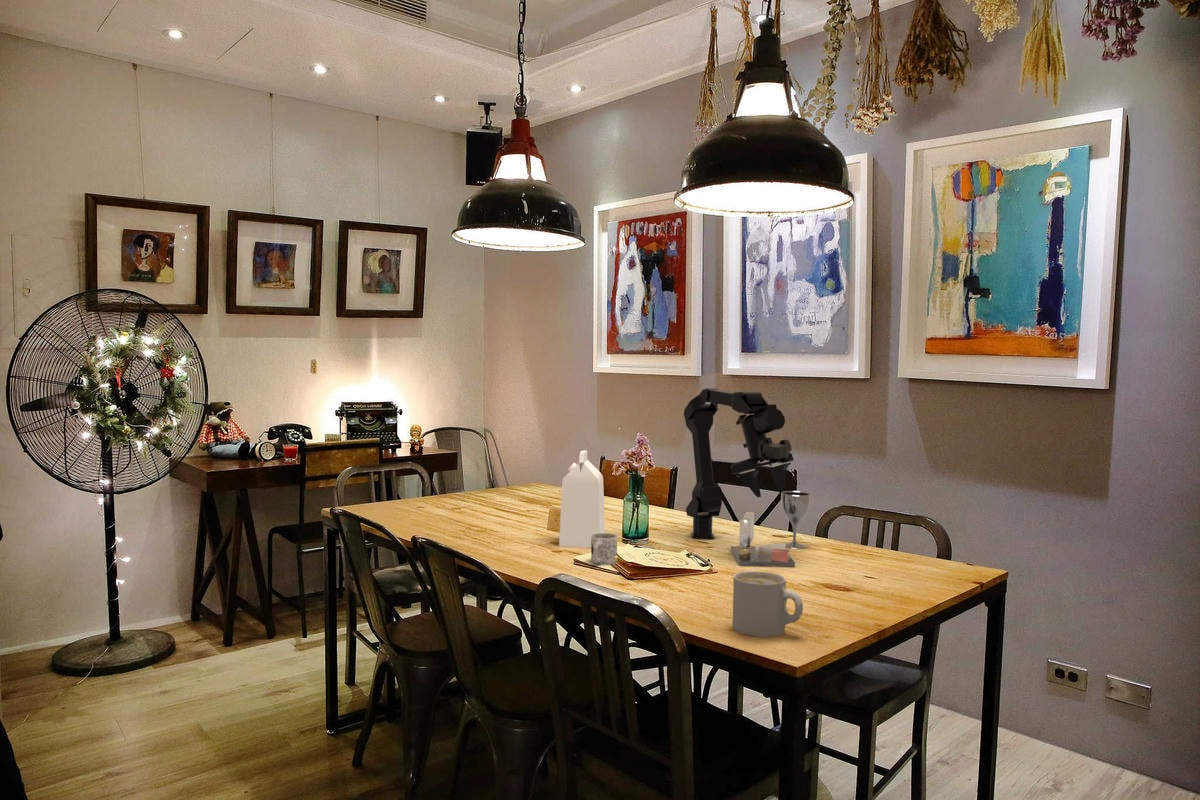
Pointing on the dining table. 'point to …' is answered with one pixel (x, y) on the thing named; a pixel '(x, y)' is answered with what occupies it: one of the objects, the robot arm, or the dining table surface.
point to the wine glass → (795, 512)
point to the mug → (603, 548)
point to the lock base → (763, 555)
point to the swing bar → (746, 530)
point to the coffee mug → (762, 604)
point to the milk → (581, 504)
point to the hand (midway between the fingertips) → (770, 494)
